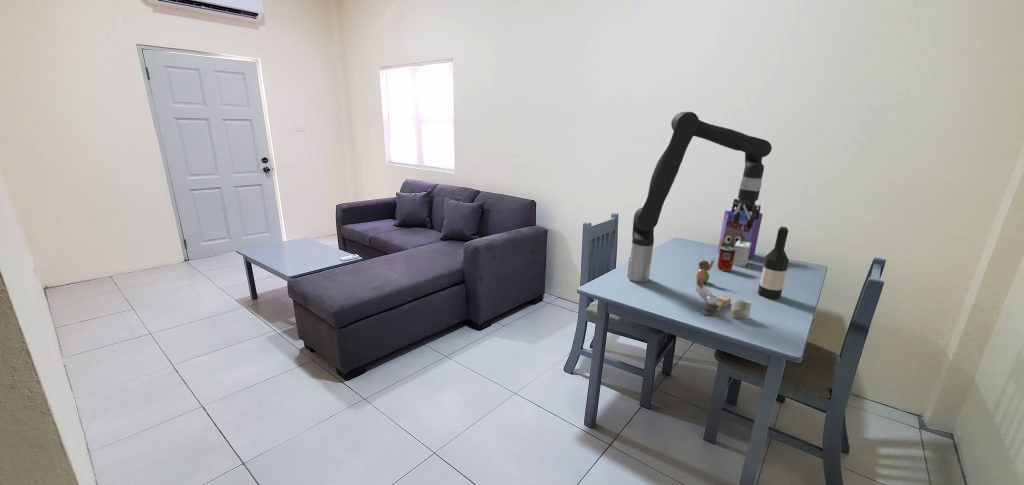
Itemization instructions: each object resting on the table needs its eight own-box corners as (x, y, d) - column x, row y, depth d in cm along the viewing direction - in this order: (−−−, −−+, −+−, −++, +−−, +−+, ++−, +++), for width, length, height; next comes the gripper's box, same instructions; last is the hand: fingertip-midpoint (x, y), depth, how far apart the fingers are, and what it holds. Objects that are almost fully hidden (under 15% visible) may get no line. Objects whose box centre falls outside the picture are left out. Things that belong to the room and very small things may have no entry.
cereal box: (720, 254, 228) (727, 212, 221) (717, 251, 232) (724, 210, 226) (753, 256, 225) (762, 214, 218) (750, 253, 230) (759, 212, 223)
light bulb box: (733, 259, 220) (737, 240, 217) (747, 262, 216) (751, 242, 213) (730, 264, 212) (733, 244, 209) (744, 267, 208) (748, 247, 205)
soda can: (733, 272, 200) (737, 249, 197) (718, 270, 202) (721, 248, 199) (730, 268, 206) (734, 246, 203) (715, 266, 208) (719, 244, 205)
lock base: (704, 316, 154) (707, 300, 152) (691, 299, 169) (693, 284, 167) (748, 318, 153) (751, 303, 151) (731, 301, 168) (733, 287, 166)
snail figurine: (711, 285, 184) (716, 259, 181) (696, 283, 185) (700, 258, 182) (708, 280, 189) (713, 256, 186) (694, 279, 191) (698, 254, 187)
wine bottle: (753, 291, 178) (767, 224, 169) (771, 291, 179) (786, 224, 170) (766, 299, 170) (781, 230, 161) (785, 299, 171) (801, 230, 162)
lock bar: (717, 306, 155) (721, 284, 152) (707, 305, 155) (711, 283, 152) (701, 289, 170) (705, 269, 167) (693, 289, 170) (696, 268, 168)
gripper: (730, 185, 178) (723, 221, 183) (753, 191, 164) (745, 230, 169) (746, 185, 179) (739, 221, 184) (770, 191, 165) (761, 230, 170)
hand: (741, 225), depth 176 cm, fingers open, 8 cm apart
